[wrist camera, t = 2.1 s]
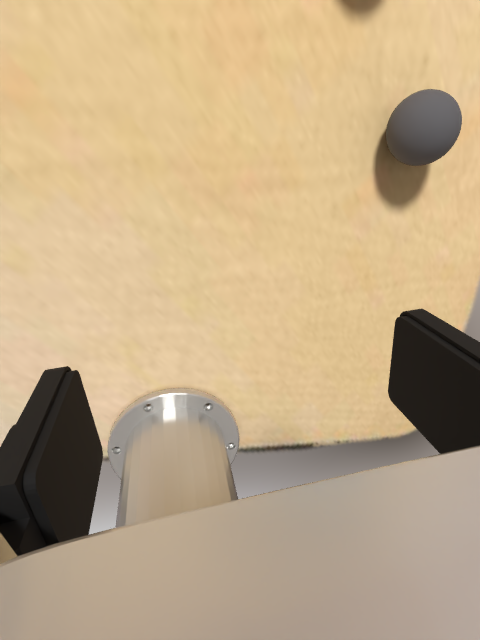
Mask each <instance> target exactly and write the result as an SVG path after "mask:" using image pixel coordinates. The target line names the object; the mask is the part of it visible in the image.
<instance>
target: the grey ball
mask: <svg viewBox="0 0 480 640" xmlns="http://www.w3.org/2000/svg"><path fill="white" fill-rule="evenodd" d="M461 124H462V115H461V111H460V108H459V106H458V103H457V102H456V100H455V99H454V98H453V97H452V96H450V95H449V94H448V93H446V92H443V91H440V90H435V89H427V90H422V91H419V92H416V93H414V94H412V95H410V96H408V97H407V98H405V99H404V100H403V101H402V102H401V103H400V104H399V105H398V106H397V107H396V108H395V110H394V111H393V113H392V115H391V117H390V119H389V121H388V124H387V129H386V141H387V145H388V148H389V150H390V152H391V154H392V155H393V156H394V157H395V158H396V159H397V160H399V161H400V162H402V163H404V164H407V165H412V166H419V165H426V164H429V163H432V162H434V161H436V160H438V159H440V158H441V157H442V156H444V155H445V154H446V153H447V152H448V151H449V150H450V149H451V148H452V146H453V145H454V143H455V142H456V140H457V138H458V136H459V133H460V130H461Z"/></svg>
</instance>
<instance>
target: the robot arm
mask: <svg viewBox="0 0 480 640" xmlns="http://www.w3.org/2000/svg"><path fill="white" fill-rule="evenodd" d="M388 394H389V397H390V399H391V401H392V402H393V404H394V405H395V406H396V407H397V408H398V409H399V410H400V411H401V412H402V413H403V414H404V415H405V416H406V417H407V419H408V420H409V421H410V422H411V423H412V424H413V425H414V426H415V427H416V428H417V429H418V430H419V431H420V432H421V433H422V435H423V436H424V437H425V438H426V439H427V440H428V441H429V442H430V443H431V444H432V445H433V446H434V448H435V449H436V450H437V451H438V452H439V453H440V454H438V455H434V456H429V457H425V458H421V459H416V460H411V461H406V462H402V463H398V464H393V465H388V466H384V467H379V468H375V469H371V470H366V471H362V472H357V473H353V474H349V475H344V476H339V477H335V478H331V479H326V480H322V481H317V482H313V483H308V484H304V485H300V486H295V487H290V488H286V489H282V490H277V491H273V492H269V493H264V494H260V495H255V496H251V497H247V498H242V499H238V497H237V492H236V489H235V484H234V480H233V475H232V471H231V466H230V465H231V464H232V462H233V460H234V458H235V456H236V454H237V451H238V447H239V432H238V427H237V424H236V421H235V418H234V416H233V415H232V413H231V411H230V410H229V409H228V407H227V406H226V405H225V404H224V403H223V402H221V401H220V400H219V399H217V398H216V397H214V396H212V395H210V394H208V393H205V392H202V391H198V390H195V389H187V388H173V389H164V390H160V391H156V392H153V393H150V394H148V395H146V396H143V397H141V398H140V399H138V400H136V401H135V402H133V403H132V404H130V405H129V406H128V407H127V408H126V409H125V410H124V411H123V412H122V413H121V414H120V415H119V417H118V418H117V420H116V421H115V423H114V425H113V427H112V430H111V432H110V437H109V442H108V456H109V461H110V464H111V466H112V468H113V470H114V472H115V473H116V474H117V475H118V477H119V478H120V479H121V487H120V494H119V503H118V511H117V520H116V528H113V529H109V530H105V531H102V532H98V533H94V534H90V535H88V534H89V529H90V523H91V518H92V513H93V507H94V502H95V497H96V491H97V486H98V481H99V475H100V470H101V465H102V459H103V452H102V446H101V442H100V439H99V436H98V433H97V429H96V426H95V423H94V420H93V416H92V413H91V410H90V407H89V403H88V400H87V397H86V394H85V390H84V387H83V384H82V381H81V377H80V374H79V372H78V371H77V370H75V371H71V369H70V367H68V366H67V367H61V368H55V369H48V370H45V371H44V372H43V374H42V376H41V378H40V380H39V382H38V384H37V386H36V388H35V389H34V391H33V393H32V395H31V397H30V399H29V401H28V403H27V404H26V406H25V408H24V410H23V412H22V414H21V416H20V418H19V420H18V421H17V423H16V424H15V425H13V426H12V428H11V429H10V430H9V432H8V434H7V436H6V438H5V440H4V441H3V443H2V445H1V447H0V640H480V342H478V341H477V340H475V339H473V338H471V337H469V336H468V335H466V334H465V333H463V332H461V331H460V330H458V329H456V328H455V327H453V326H451V325H449V324H448V323H446V322H444V321H443V320H441V319H439V318H438V317H436V316H434V315H433V314H431V313H429V312H427V311H426V310H424V309H417V310H411V311H405V312H402V313H401V315H400V317H398V318H397V319H396V321H395V329H394V339H393V348H392V358H391V367H390V377H389V387H388Z"/></svg>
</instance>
